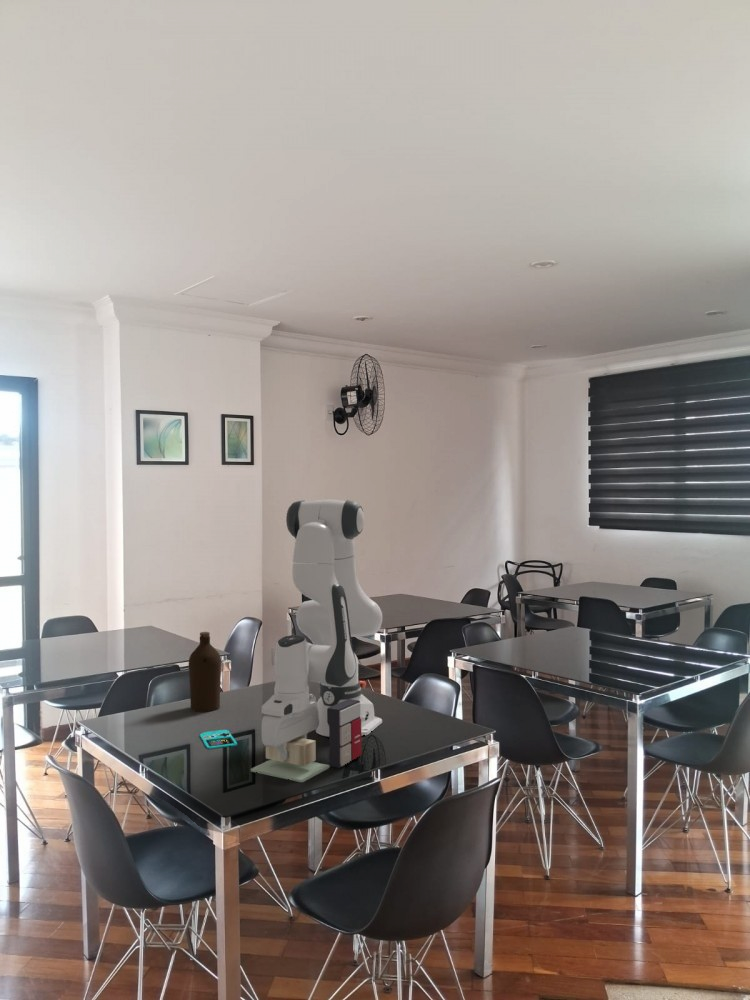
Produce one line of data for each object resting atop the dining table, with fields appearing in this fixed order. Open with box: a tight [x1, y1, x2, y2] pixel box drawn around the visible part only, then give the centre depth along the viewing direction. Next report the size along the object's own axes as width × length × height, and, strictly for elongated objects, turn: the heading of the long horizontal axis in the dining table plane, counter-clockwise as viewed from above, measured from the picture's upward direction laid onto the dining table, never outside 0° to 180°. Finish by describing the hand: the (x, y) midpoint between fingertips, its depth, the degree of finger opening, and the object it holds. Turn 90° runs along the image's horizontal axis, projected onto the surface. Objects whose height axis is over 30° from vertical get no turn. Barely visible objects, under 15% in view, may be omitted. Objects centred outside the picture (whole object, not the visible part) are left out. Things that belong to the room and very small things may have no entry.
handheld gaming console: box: [199, 729, 238, 750], centre depth 224 cm, size 8×1×15 cm
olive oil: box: [188, 631, 222, 713], centre depth 258 cm, size 11×11×25 cm
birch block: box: [265, 737, 317, 766], centre depth 199 cm, size 5×5×12 cm
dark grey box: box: [327, 699, 362, 769], centre depth 204 cm, size 11×4×15 cm, turn 151°
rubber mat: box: [250, 759, 331, 783], centre depth 199 cm, size 12×16×1 cm
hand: (292, 755), depth 198 cm, fingers closed on birch block, 5 cm apart
